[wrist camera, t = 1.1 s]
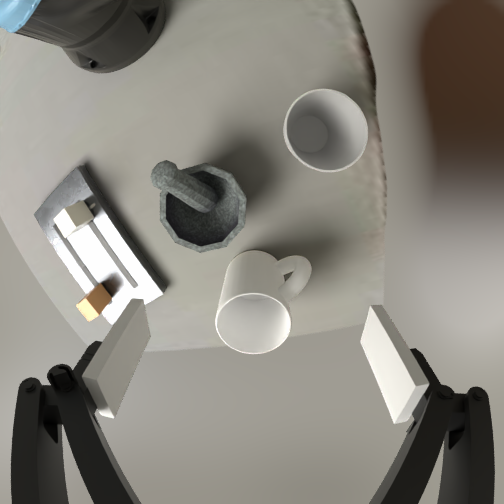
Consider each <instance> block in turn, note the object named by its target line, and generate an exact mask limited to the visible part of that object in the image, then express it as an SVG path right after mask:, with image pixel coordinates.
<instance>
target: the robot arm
mask: <svg viewBox="0 0 504 504" xmlns="http://www.w3.org/2000/svg"><path fill="white" fill-rule="evenodd" d="M165 17H166V9H165V4H164V2H163V0H0V27H1V28H4V29H6V31H8V32H11V33H16V34H20V35H24V36H28V37H31V38H35V39H38V40H41V41H44V42H48V43H51V44H54V45H57V46H60V47H62V49H63V50H64V51H65V53H66V54H67V55H68V57H69V58H70V59H71V60H72V62H73V63H74V64H76V65H77V66H78V67H80V68H82V69H85V70H88V71H90V72H94V73H109V72H114V71H117V70H120V69H122V68H124V67H126V66H128V65H130V64H132V63H133V62H135V61H136V60H138V59H139V58H140V57H141V56H142V55H144V54H145V53H146V52H147V51H148V50H149V49H150V47H151V46H152V45H153V44H154V42H155V41H156V40H157V38H158V36H159V35H160V33H161V31H162V28H163V26H164V22H165ZM150 337H151V336H150V331H149V326H148V321H147V315H146V310H145V304H144V299H138V298H131V300H130V301H129V303H128V304H127V306H126V307H125V309H124V310H123V312H122V313H121V315H120V316H119V318H118V319H117V321H116V322H115V324H114V325H113V327H112V328H111V330H110V331H109V333H108V335H107V336H106V338H105V339H104V341H103V342H100V341H95V342H94V343H92V344H91V345H90V346H89V347H88V348H87V350H86V351H85V353H84V354H83V356H82V357H81V359H80V360H79V362H78V363H77V365H76V366H75V368H74V370H72V369H71V367H70V366H68V365H65V364H60V365H56V366H54V367H52V368H51V369H50V370H49V372H48V374H47V378H48V380H49V382H50V384H51V385H42V384H41V383H40V381H39V380H38V379H36V378H32V377H31V378H27V379H25V380H24V381H22V383H21V384H20V386H19V390H18V396H17V403H16V409H15V417H14V426H13V437H12V453H11V495H12V504H69V502H68V496H67V489H66V482H65V472H64V462H63V447H62V425H63V426H64V429H65V432H66V436H67V439H68V442H69V445H70V447H71V450H72V453H73V456H74V458H75V461H76V463H77V466H78V469H79V471H80V474H81V476H82V478H83V481H84V483H85V485H86V487H87V490H88V492H89V494H90V496H91V498H92V500H93V502H94V504H141V502H140V501H139V499H138V497H137V496H136V494H135V493H134V491H133V489H132V488H131V486H130V484H129V482H128V481H127V479H126V477H125V476H124V474H123V472H122V470H121V468H120V466H119V464H118V463H117V461H116V459H115V457H114V455H113V453H112V451H111V449H110V447H109V445H108V443H107V440H106V438H105V436H104V434H103V432H102V430H101V427H100V425H99V423H98V420H97V418H96V416H95V414H94V413H95V411H96V409H98V410H99V412H100V414H101V415H103V416H107V417H111V418H115V416H116V414H117V411H118V409H119V407H120V404H121V402H122V400H123V397H124V395H125V392H126V390H127V388H128V386H129V383H130V381H131V378H132V376H133V374H134V372H135V369H136V367H137V365H138V363H139V361H140V358H141V356H142V354H143V352H144V350H145V348H146V345H147V343H148V341H149V339H150ZM360 342H361V345H362V347H363V349H364V351H365V354H366V356H367V358H368V361H369V363H370V365H371V368H372V370H373V372H374V375H375V377H376V380H377V382H378V385H379V387H380V389H381V391H382V394H383V397H384V399H385V402H386V404H387V407H388V409H389V412H390V415H391V417H392V420H393V422H394V424H396V423H401V422H406V421H407V420H408V419H409V418H410V416H411V414H412V415H413V417H414V421H413V423H412V424H411V425H410V427H409V428H408V430H407V431H406V432H408V433H407V435H406V438H405V440H404V442H403V444H402V446H401V448H400V450H399V452H398V454H397V456H396V458H395V460H394V462H393V464H392V466H391V468H390V469H389V471H388V473H387V475H386V476H385V478H384V480H383V482H382V483H381V485H380V487H379V488H378V490H377V492H376V494H375V495H374V496H373V498H372V500H371V501H370V503H369V504H418V503H419V500H420V498H421V496H422V494H423V492H424V490H425V488H426V485H427V483H428V481H429V478H430V476H431V473H432V471H433V468H434V466H435V463H436V461H437V458H438V455H439V452H440V449H441V446H442V444H443V441H444V454H443V467H442V475H441V483H440V490H439V498H438V503H437V504H494V480H495V478H494V477H495V476H494V475H495V467H494V466H495V465H494V442H493V430H492V421H491V412H490V405H489V398H488V395H487V393H486V392H485V390H483V389H482V388H480V387H472V388H470V389H469V391H468V392H467V394H458V393H454V391H453V390H452V389H451V388H450V387H448V386H446V385H441V384H440V382H439V380H438V379H437V377H436V375H435V374H434V372H433V370H432V369H431V367H430V365H429V364H428V362H426V359H425V357H424V356H423V354H422V353H421V352H419V351H418V350H417V349H416V348H414V349H409V348H408V346H407V344H406V342H405V341H404V339H403V338H402V336H401V334H400V333H399V331H398V330H397V328H396V327H395V325H394V323H393V322H392V320H391V319H390V317H389V315H388V314H387V312H386V311H385V309H384V308H383V306H382V305H370V309H369V313H368V316H367V320H366V324H365V328H364V331H363V335H362V338H361V341H360ZM444 437H445V438H444Z"/></svg>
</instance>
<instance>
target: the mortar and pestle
mask: <svg viewBox="0 0 504 504" xmlns="http://www.w3.org/2000/svg"><path fill="white" fill-rule="evenodd" d="M151 181H152V183H153V186H155V187H156V188H158V189H160V190H162V191H161V193H160V221H161V223H162V224H163V226H164V227H165V229H166V230H167V232H168V233H169V234H170V236H171V237H172V239H173V240H174V242H175V243H177V244H180V245H182V246H185V247H187V248H190V249H192V250H195V251H197V252H200V253H201V252H206V251H210V250H215V249H219V248H224V247H227V246H228V244H229V243H230V242H231V241H232V240H233V239H234V238H235V236H236V235H237V234H238V233H239V232H240V231H241V230H242V229H243V227H244V225H245V213H246V201H247V196H246V194H245V193H244V191H243V190H242V188H241V186H240V185H239V183H238V182H237V180H236V179H235V177H234V175H233V174H232V173H231V172H228V171H226V170H223V169H221V168H218V167H215V166H213V165H210V164H208V163H204V164H200V165H196V166H193V167H189V168H186V169H182V170H179V169H177V166H176V164H174V163H172V162H170V161H167V160H165V161H163V162H160V163H158V164H157V165H156V166H155V167H154V169H153V170H152V174H151Z"/></svg>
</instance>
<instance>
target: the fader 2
mask: <svg viewBox="0 0 504 504" xmlns="http://www.w3.org/2000/svg"><path fill="white" fill-rule="evenodd" d="M112 299H113V298H112V297H111V296H110V295H109V293H108V292H107V291H106V289H105V288H104V287H103V285H102V284H101V283H100V284H98V285H97V286H96V287H94V288H93V289H92V290H91V291H90V292H89V293H88V294H87V295H86V296H85V297H84V298H83V299H82V300H81V301H80V302H79V303H78V304H77V305H76V306H77V308H78V309H79V310H80V311H81V313H82V314H83V315H84V316H85V318H86V319H87V320H88V321H91V320H92V319H94V318H96V317H97V316H99V315H100V313H101V312H102V311H103V310H104V308H105V307H106V306H107V305H108V304H109V302H110V301H111V300H112Z"/></svg>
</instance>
